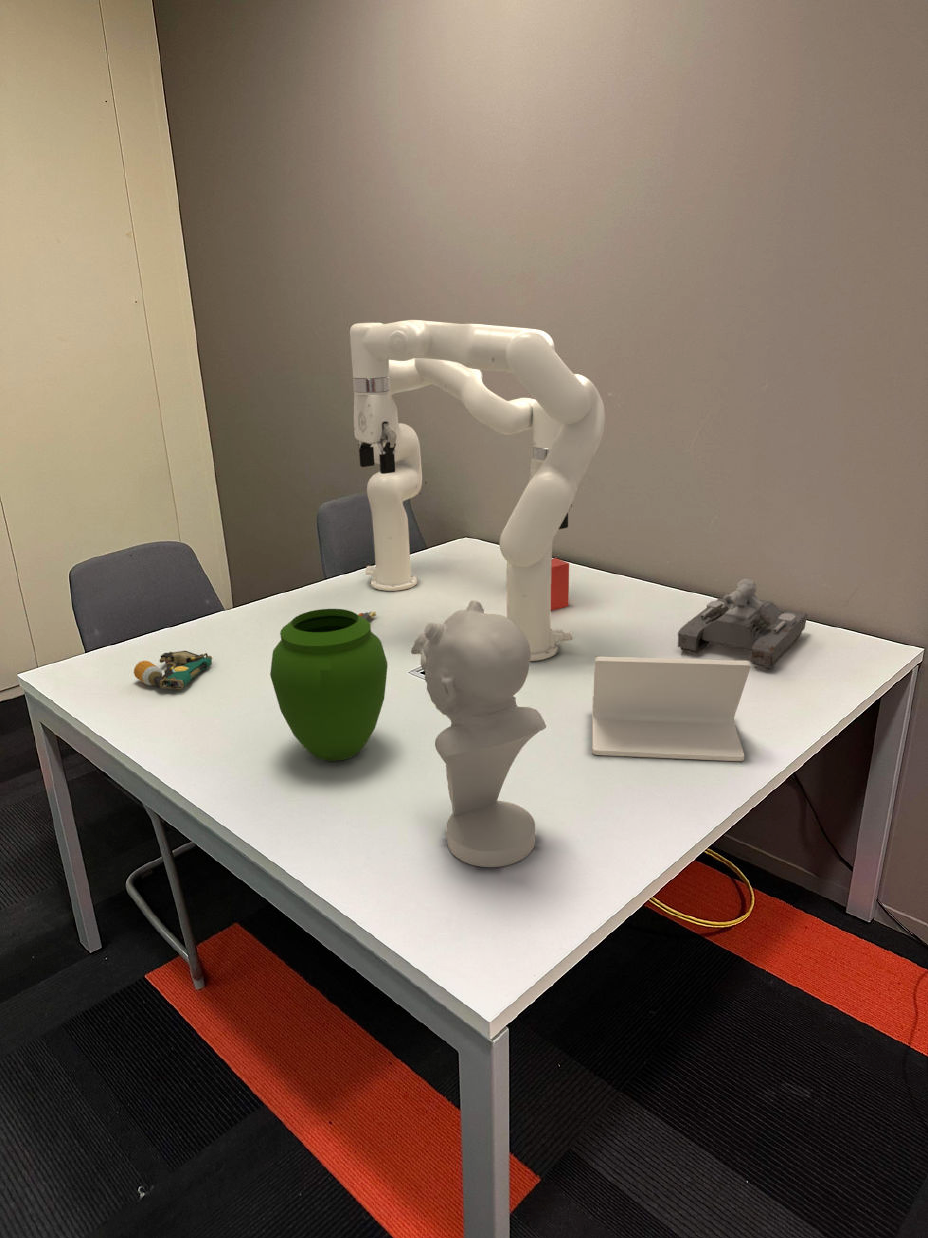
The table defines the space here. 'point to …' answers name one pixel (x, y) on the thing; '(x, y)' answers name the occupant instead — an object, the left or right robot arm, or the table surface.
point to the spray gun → (172, 669)
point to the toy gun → (367, 615)
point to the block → (559, 584)
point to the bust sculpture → (481, 729)
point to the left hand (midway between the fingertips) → (549, 524)
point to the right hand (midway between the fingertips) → (377, 469)
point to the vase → (330, 681)
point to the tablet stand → (667, 707)
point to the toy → (744, 626)
